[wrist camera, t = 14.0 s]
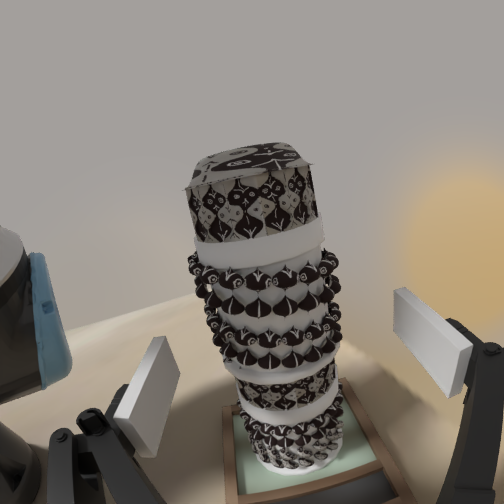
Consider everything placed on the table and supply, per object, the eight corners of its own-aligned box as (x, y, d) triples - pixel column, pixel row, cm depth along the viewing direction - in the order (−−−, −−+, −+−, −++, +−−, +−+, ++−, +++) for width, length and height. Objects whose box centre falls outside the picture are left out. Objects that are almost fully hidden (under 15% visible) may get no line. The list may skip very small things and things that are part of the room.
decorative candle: (235, 432, 26) (157, 174, 19) (313, 396, 29) (274, 151, 22) (274, 495, 17) (175, 153, 11) (366, 444, 20) (351, 130, 14)
